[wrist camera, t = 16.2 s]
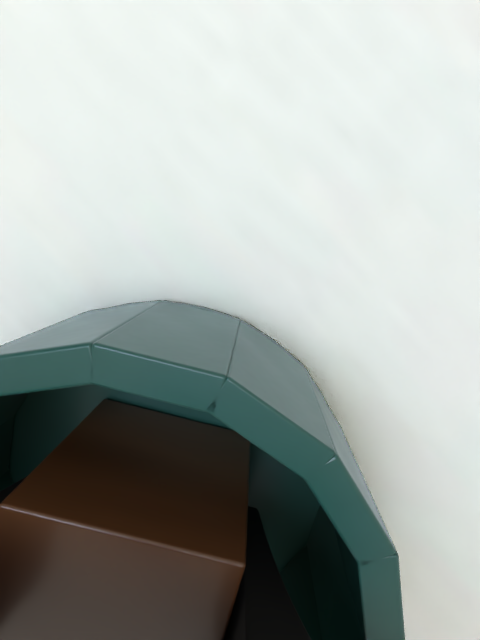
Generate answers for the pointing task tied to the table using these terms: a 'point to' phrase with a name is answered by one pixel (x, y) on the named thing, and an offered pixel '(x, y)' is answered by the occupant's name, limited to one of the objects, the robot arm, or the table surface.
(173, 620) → the block
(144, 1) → the table surface
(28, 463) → the tin
